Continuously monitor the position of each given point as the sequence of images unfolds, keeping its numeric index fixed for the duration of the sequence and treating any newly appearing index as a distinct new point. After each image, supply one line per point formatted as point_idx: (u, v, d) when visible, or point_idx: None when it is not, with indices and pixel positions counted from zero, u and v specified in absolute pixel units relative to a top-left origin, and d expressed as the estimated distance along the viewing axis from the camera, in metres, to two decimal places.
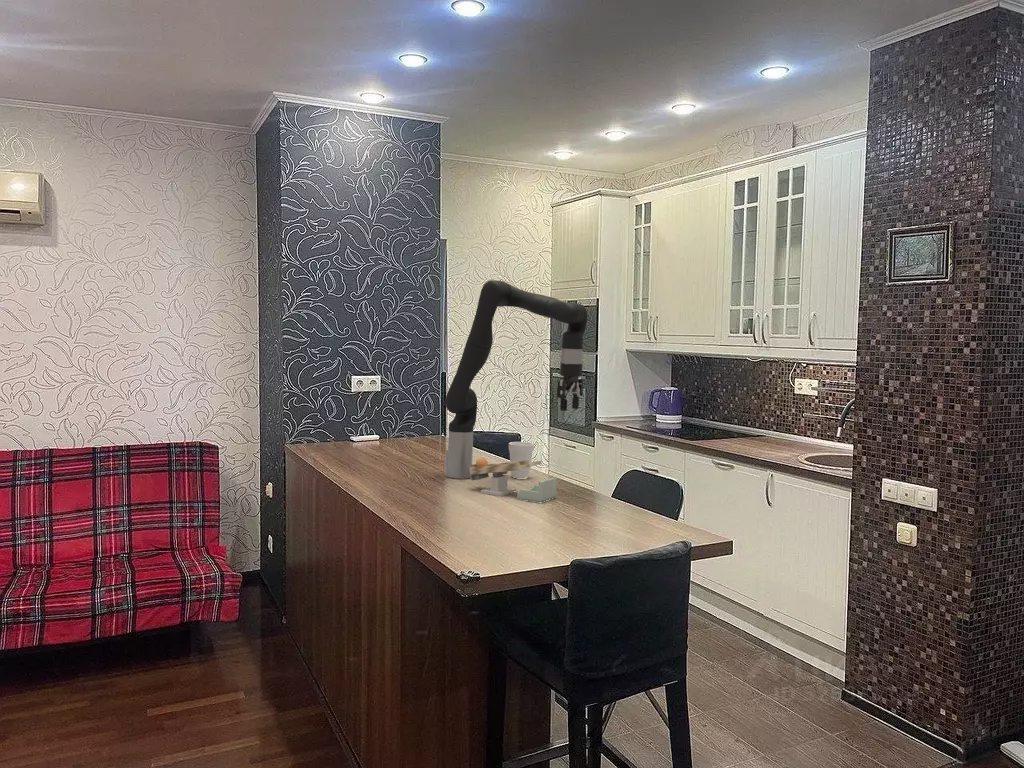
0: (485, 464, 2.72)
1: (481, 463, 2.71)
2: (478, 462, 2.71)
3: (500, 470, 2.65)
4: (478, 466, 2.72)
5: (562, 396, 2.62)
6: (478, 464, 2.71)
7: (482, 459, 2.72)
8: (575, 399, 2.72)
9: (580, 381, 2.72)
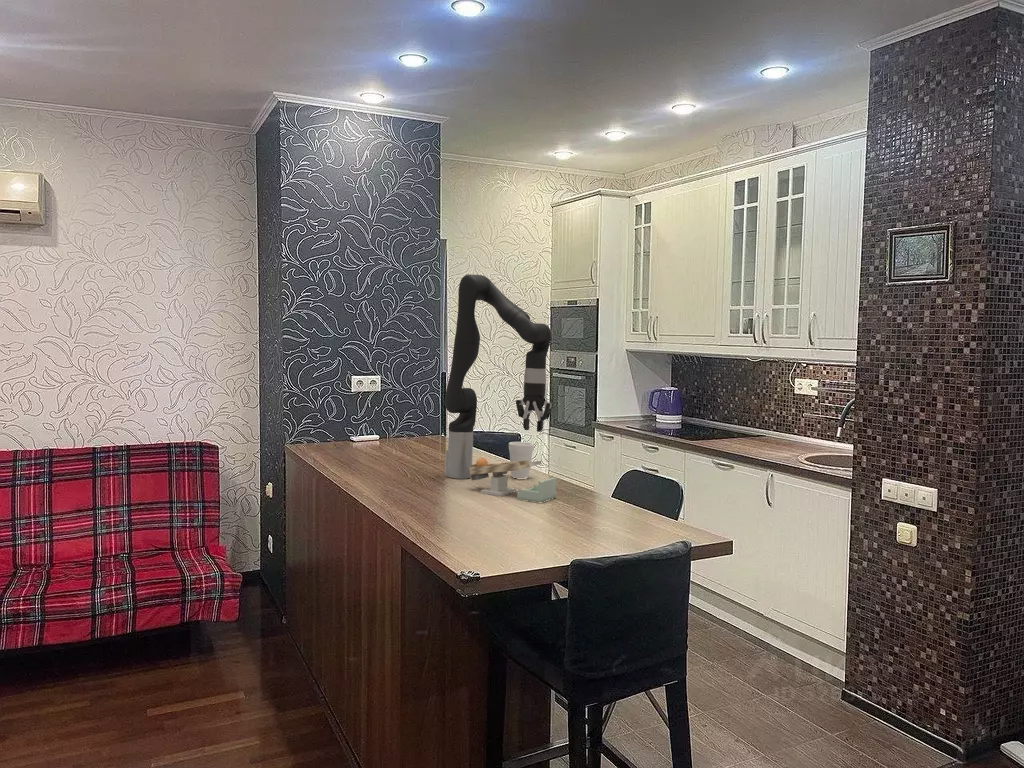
0: (485, 464, 2.72)
1: (481, 463, 2.71)
2: (478, 462, 2.71)
3: (500, 470, 2.65)
4: (478, 466, 2.72)
5: (548, 417, 2.69)
6: (478, 464, 2.71)
7: (482, 459, 2.72)
8: (528, 420, 2.73)
9: None
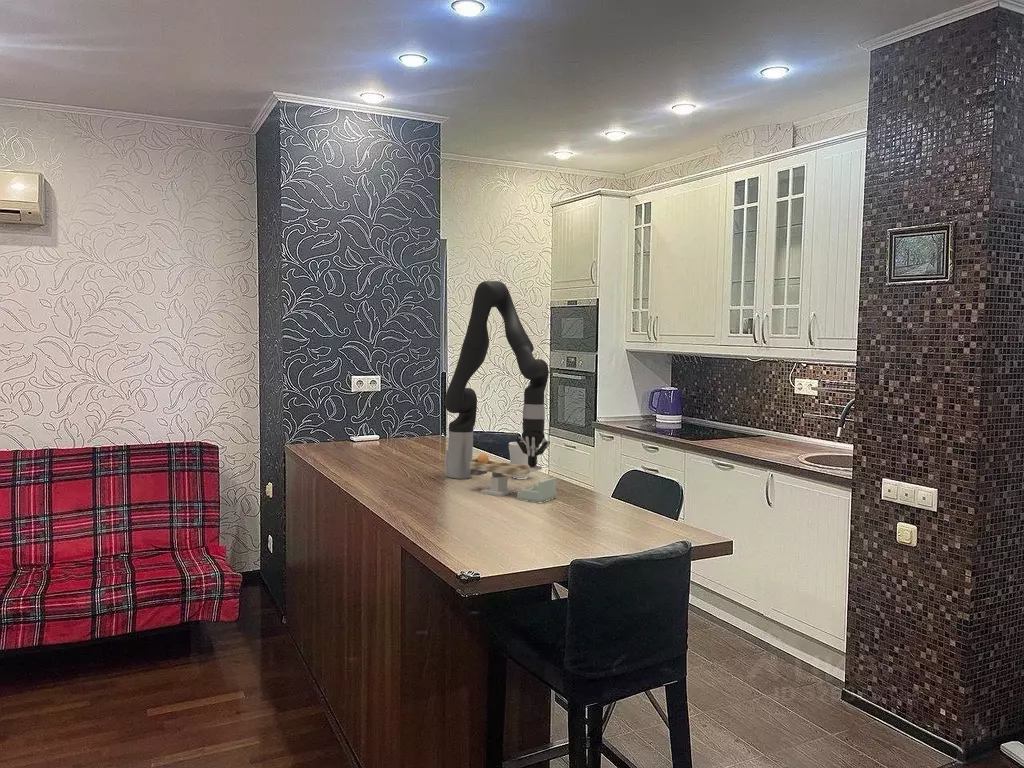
0: (486, 461, 2.71)
1: (482, 460, 2.71)
2: (479, 458, 2.71)
3: (500, 472, 2.65)
4: (479, 462, 2.71)
5: (541, 453, 2.71)
6: (479, 460, 2.71)
7: (484, 456, 2.71)
8: None
9: None
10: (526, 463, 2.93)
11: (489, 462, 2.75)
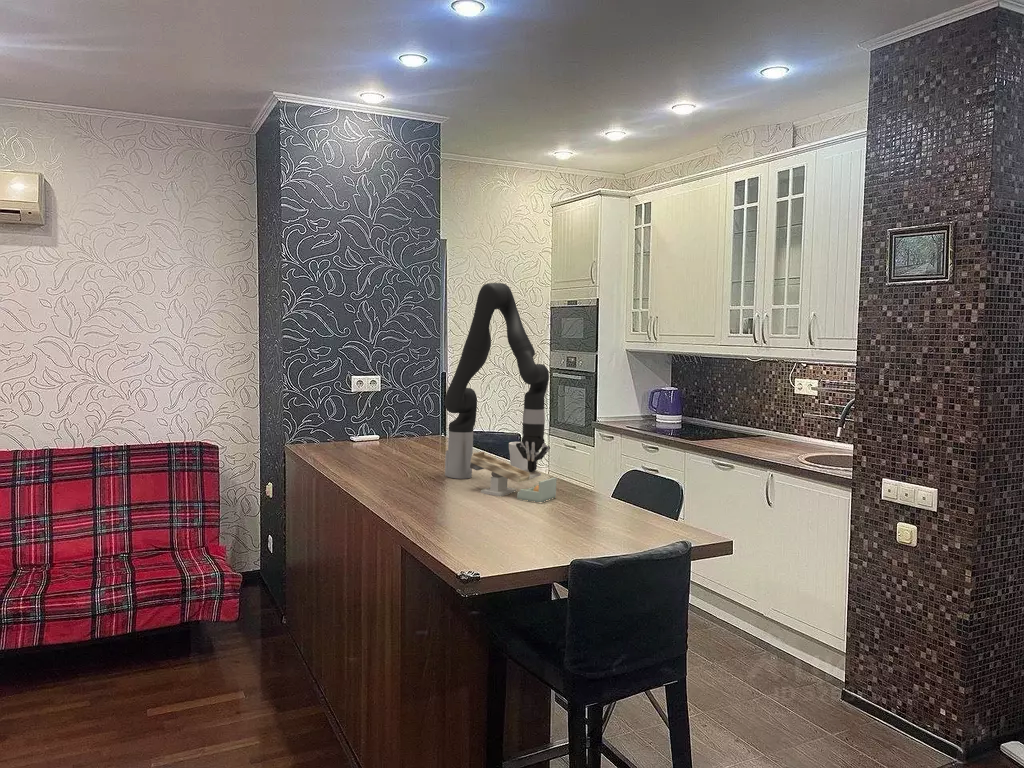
0: None
1: None
2: (537, 491, 2.59)
3: (500, 473, 2.65)
4: None
5: (541, 457, 2.71)
6: None
7: None
8: None
9: None
10: (526, 463, 2.93)
11: (490, 458, 2.74)
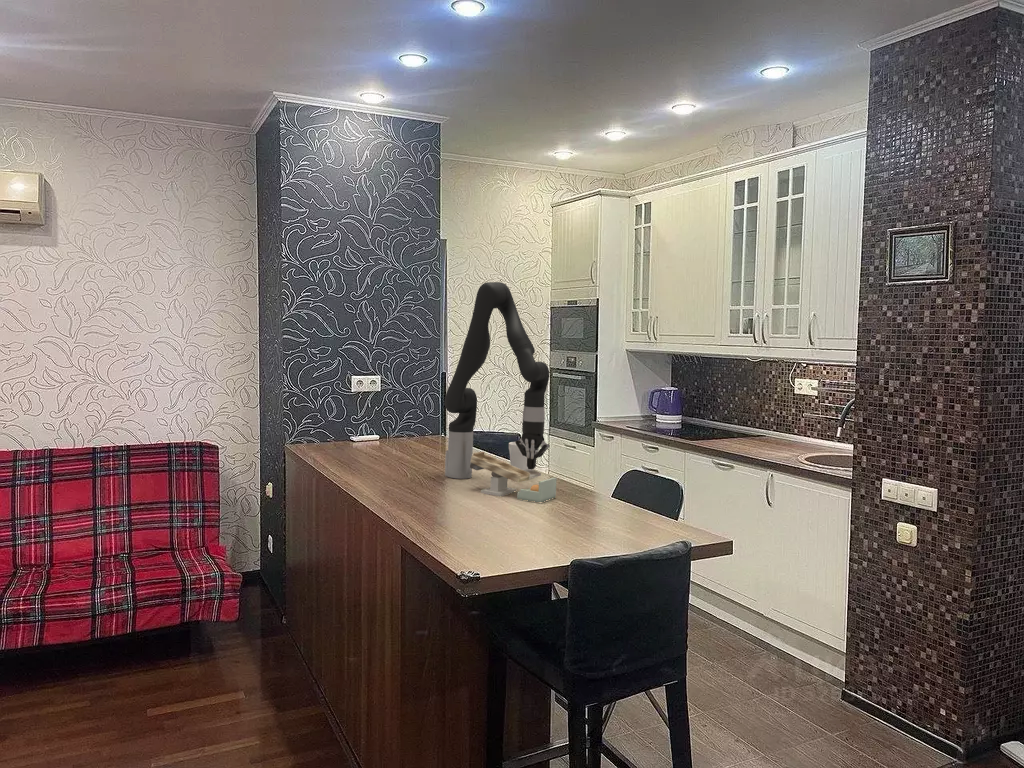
0: None
1: None
2: (534, 489, 2.60)
3: (500, 473, 2.65)
4: None
5: (540, 455, 2.72)
6: None
7: None
8: None
9: None
10: (526, 463, 2.93)
11: (490, 458, 2.74)
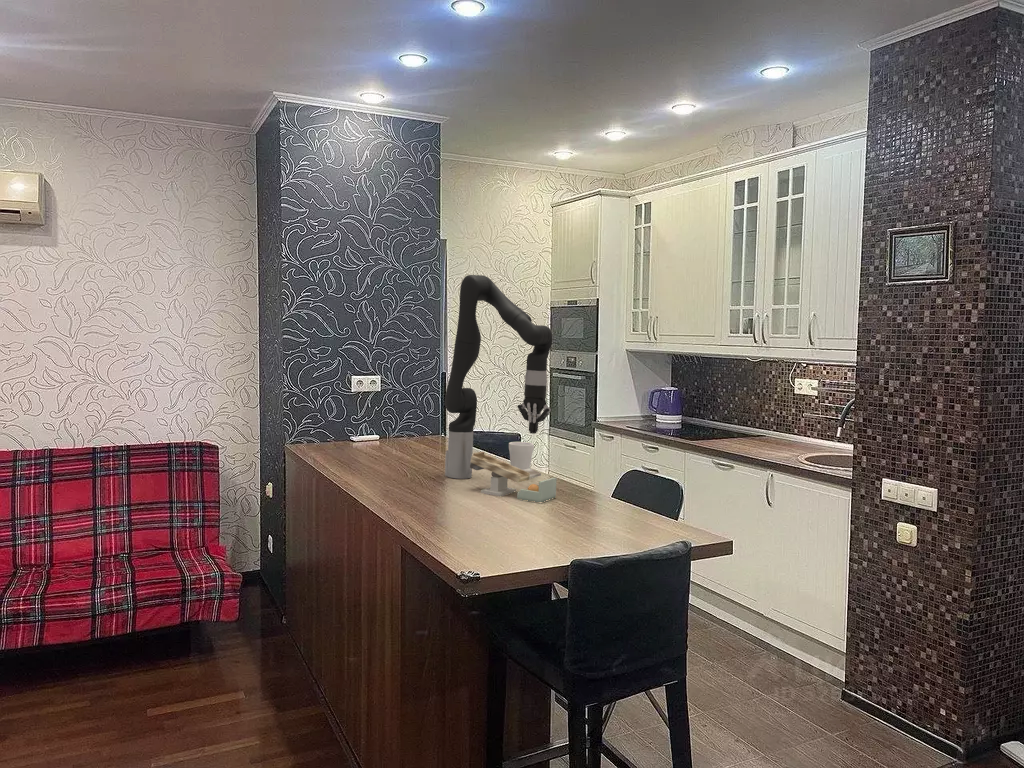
0: None
1: (533, 490, 2.60)
2: (530, 489, 2.61)
3: (500, 473, 2.65)
4: None
5: (543, 419, 2.71)
6: None
7: (535, 486, 2.61)
8: None
9: None
10: (526, 463, 2.93)
11: (490, 458, 2.74)
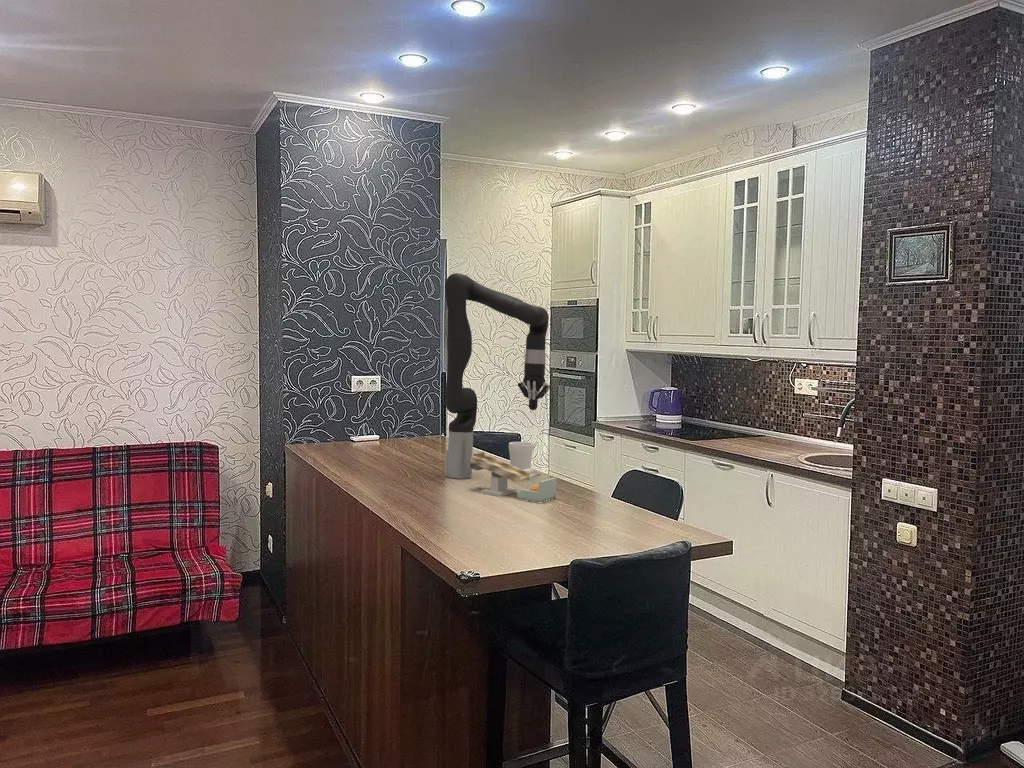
0: None
1: None
2: (533, 489, 2.60)
3: (500, 473, 2.65)
4: None
5: (542, 396, 2.84)
6: None
7: (538, 489, 2.60)
8: None
9: None
10: (526, 463, 2.93)
11: (490, 458, 2.74)
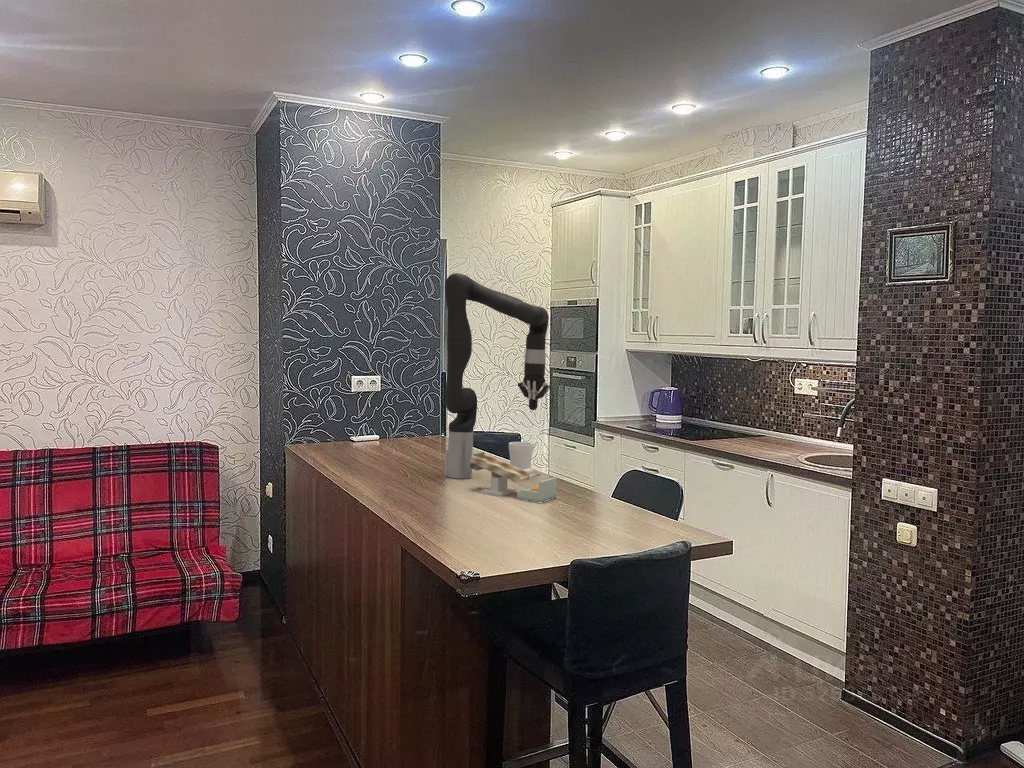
0: None
1: None
2: (536, 490, 2.60)
3: (500, 473, 2.65)
4: None
5: (542, 396, 2.84)
6: None
7: None
8: None
9: None
10: (526, 463, 2.93)
11: (490, 458, 2.74)
